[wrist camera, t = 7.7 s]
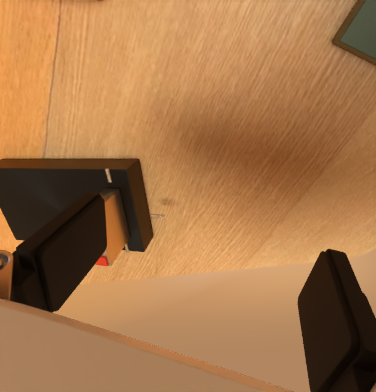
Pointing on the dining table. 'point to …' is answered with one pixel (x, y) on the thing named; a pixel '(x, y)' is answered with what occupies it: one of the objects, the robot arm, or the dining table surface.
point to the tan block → (114, 226)
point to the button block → (359, 31)
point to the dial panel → (71, 192)
